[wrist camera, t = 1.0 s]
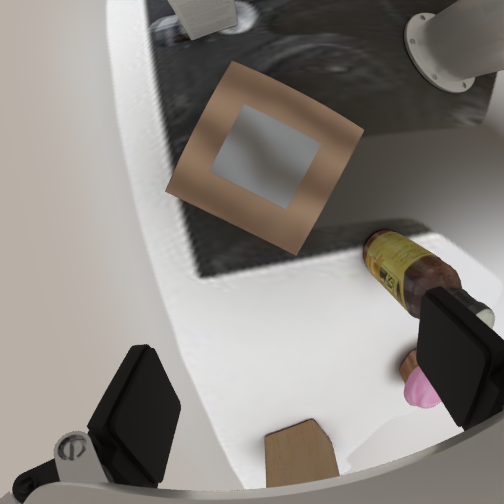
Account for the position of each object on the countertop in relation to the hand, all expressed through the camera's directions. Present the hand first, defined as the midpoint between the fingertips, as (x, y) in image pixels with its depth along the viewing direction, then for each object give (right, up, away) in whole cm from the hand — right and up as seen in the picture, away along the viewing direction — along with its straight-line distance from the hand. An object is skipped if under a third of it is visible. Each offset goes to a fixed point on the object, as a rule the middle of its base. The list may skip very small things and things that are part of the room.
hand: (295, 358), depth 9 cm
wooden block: (+7, -31, +38) cm, 49 cm away
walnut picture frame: (0, +14, +23) cm, 27 cm away
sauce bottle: (+16, +3, +27) cm, 31 cm away
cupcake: (+25, -14, +32) cm, 43 cm away
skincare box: (-7, +31, +18) cm, 37 cm away
